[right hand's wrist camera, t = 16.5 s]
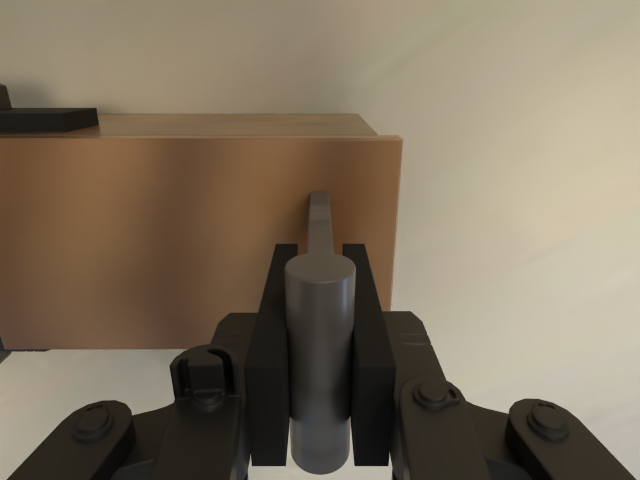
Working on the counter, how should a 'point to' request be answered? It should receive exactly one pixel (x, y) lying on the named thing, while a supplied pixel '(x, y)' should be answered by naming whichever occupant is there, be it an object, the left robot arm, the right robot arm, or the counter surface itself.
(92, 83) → the counter surface
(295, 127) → the chest
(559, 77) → the counter surface
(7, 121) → the left robot arm
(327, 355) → the door
